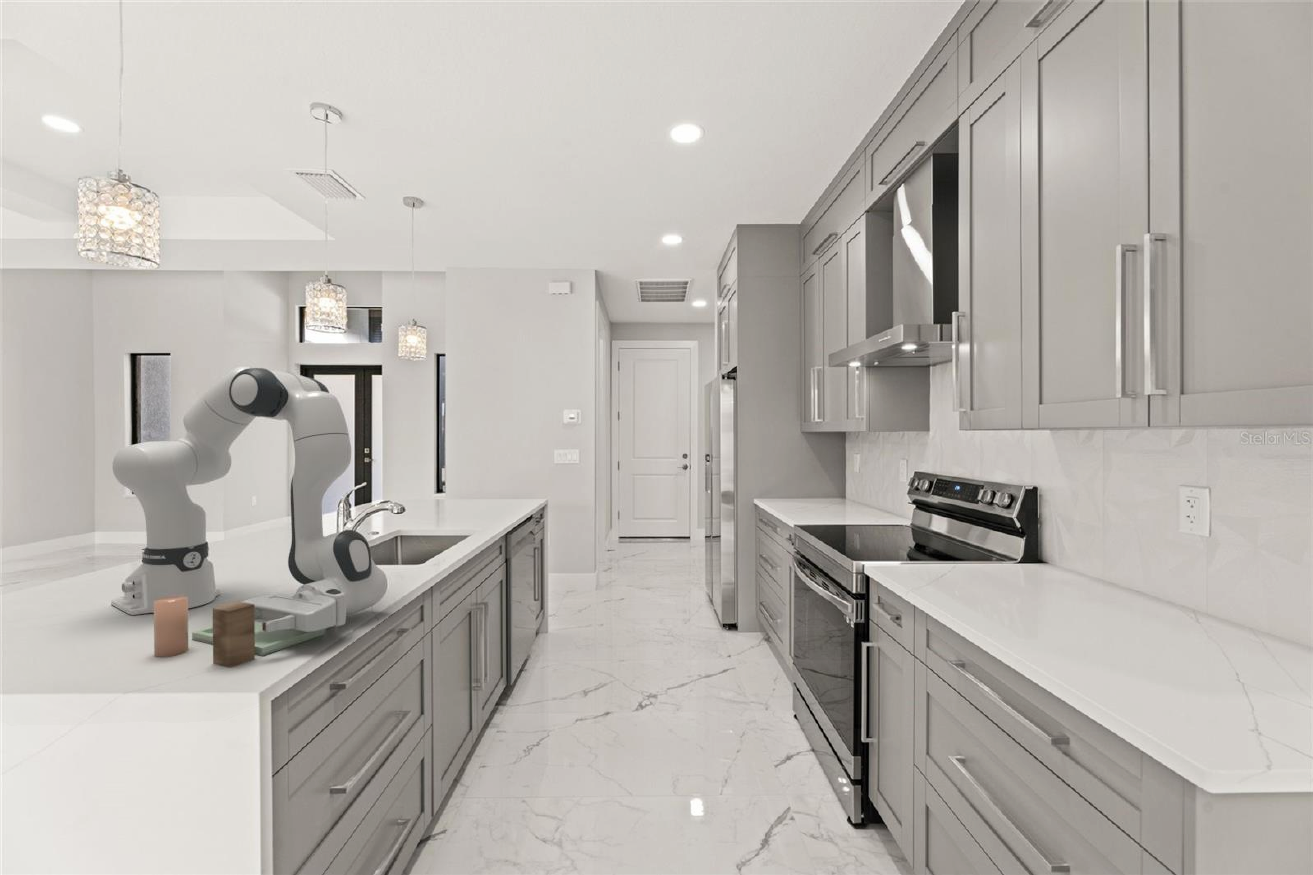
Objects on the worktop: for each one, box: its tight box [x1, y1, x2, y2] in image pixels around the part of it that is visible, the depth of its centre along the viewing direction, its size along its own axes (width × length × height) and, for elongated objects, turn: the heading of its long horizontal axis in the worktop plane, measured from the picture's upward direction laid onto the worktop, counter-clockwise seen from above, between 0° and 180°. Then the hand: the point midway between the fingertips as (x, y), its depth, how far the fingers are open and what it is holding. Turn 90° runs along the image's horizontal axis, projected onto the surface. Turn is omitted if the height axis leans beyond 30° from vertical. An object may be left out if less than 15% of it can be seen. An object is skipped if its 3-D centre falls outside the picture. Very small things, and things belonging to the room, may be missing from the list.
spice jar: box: [153, 595, 189, 658], centre depth 114 cm, size 5×5×10 cm
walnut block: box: [212, 601, 256, 668], centre depth 110 cm, size 4×4×10 cm
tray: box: [191, 622, 326, 657], centre depth 122 cm, size 21×13×2 cm, turn 67°
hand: (247, 624), depth 112 cm, fingers open, 8 cm apart
